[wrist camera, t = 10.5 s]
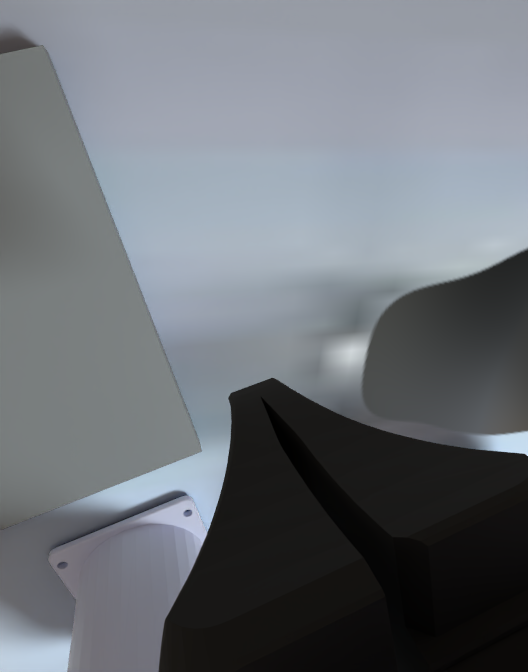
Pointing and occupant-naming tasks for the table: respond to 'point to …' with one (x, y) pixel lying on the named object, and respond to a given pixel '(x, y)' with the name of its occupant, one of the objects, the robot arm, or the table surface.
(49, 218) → the slate board
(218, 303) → the table surface
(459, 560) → the robot arm
